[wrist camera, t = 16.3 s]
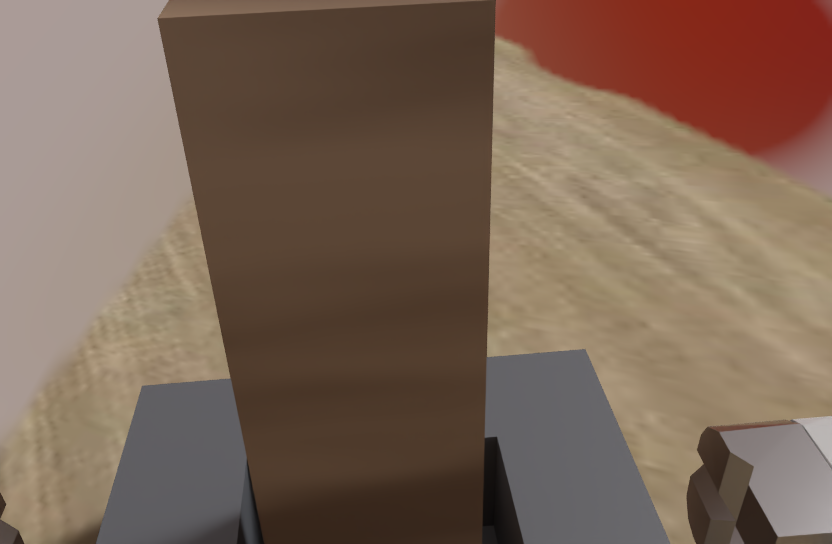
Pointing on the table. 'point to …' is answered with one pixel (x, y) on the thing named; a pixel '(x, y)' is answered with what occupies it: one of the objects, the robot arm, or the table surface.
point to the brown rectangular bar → (347, 252)
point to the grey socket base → (503, 464)
